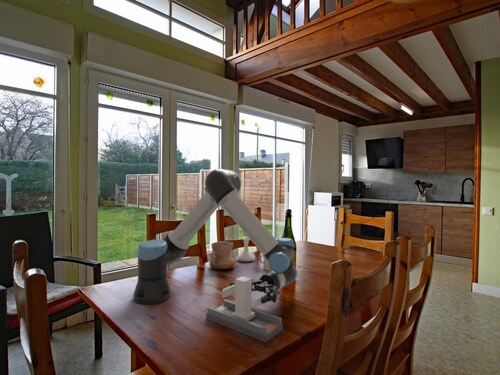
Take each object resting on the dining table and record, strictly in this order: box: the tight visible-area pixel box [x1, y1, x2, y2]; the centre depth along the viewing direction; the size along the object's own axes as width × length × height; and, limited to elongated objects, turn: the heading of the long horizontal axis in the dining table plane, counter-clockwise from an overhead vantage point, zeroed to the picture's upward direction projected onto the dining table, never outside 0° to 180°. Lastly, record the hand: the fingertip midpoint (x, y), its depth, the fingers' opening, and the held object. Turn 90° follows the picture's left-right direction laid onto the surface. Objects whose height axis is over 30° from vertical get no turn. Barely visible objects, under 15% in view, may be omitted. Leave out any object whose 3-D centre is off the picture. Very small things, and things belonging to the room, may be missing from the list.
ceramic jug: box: [209, 241, 236, 271], centre depth 168 cm, size 18×14×14 cm
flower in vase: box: [236, 232, 256, 262], centre depth 185 cm, size 13×11×25 cm
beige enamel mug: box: [258, 254, 272, 272], centre depth 169 cm, size 12×9×12 cm
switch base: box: [205, 298, 284, 343], centre depth 103 cm, size 26×10×4 cm, turn 53°
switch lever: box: [231, 276, 255, 321], centre depth 102 cm, size 6×6×13 cm
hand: (237, 298), depth 100 cm, fingers open, 13 cm apart
